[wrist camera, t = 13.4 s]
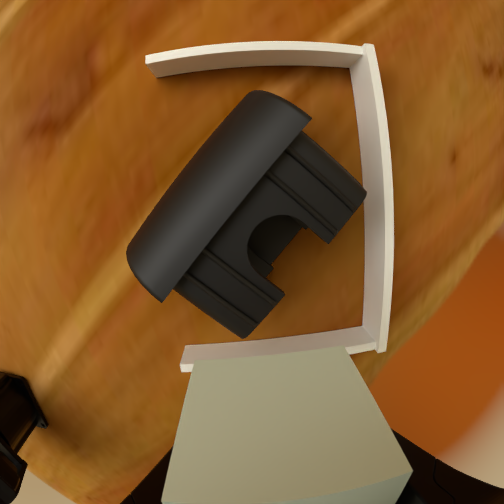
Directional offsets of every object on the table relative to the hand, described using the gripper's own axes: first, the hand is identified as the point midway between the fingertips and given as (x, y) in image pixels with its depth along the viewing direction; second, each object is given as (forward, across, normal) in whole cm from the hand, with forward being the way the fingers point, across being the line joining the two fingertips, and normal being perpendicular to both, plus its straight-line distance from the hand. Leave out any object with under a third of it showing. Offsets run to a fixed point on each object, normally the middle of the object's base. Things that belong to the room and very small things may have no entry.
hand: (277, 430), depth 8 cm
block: (+1, 0, 0) cm, 1 cm away
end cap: (+12, +1, -6) cm, 13 cm away
